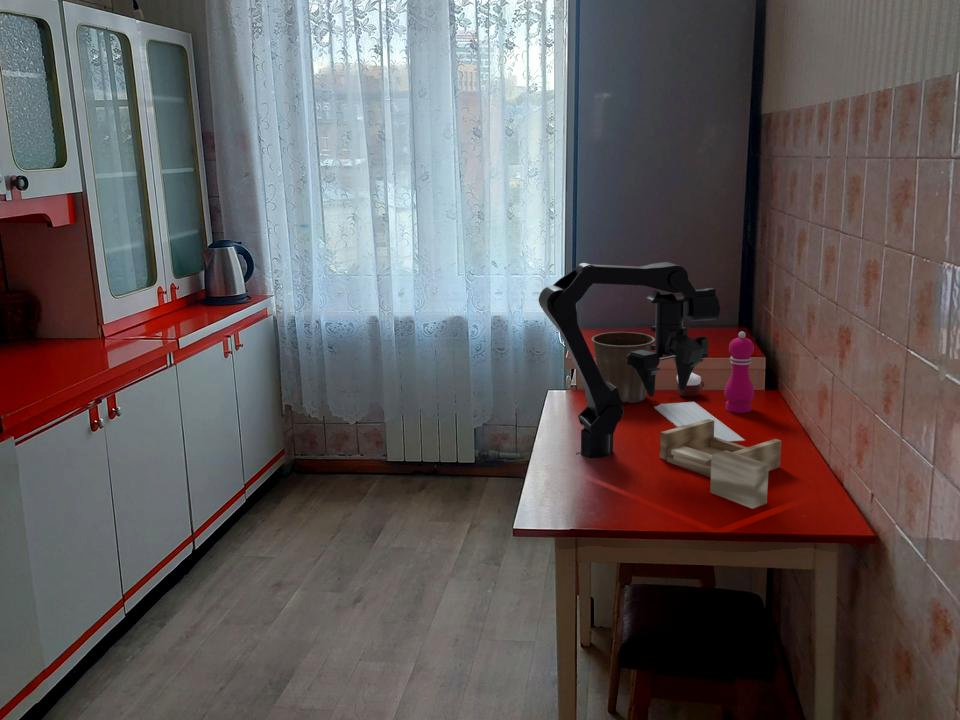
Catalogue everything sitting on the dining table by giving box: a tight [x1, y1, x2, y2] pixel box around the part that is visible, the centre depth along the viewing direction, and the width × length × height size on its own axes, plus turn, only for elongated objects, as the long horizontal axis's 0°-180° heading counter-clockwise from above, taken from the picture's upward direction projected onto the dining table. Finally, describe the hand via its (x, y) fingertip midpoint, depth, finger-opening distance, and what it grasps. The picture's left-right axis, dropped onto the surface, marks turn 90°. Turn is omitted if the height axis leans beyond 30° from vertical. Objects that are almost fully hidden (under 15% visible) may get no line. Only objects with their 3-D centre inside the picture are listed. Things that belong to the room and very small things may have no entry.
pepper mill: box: [723, 331, 755, 414], centre depth 228 cm, size 7×7×20 cm
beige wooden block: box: [709, 450, 770, 510], centre depth 172 cm, size 4×10×8 cm, turn 35°
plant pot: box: [591, 331, 655, 404], centre depth 241 cm, size 16×16×16 cm
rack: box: [659, 419, 782, 472], centre depth 191 cm, size 15×19×6 cm
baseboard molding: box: [649, 397, 746, 443], centre depth 219 cm, size 31×3×12 cm
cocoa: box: [673, 358, 705, 398], centre depth 243 cm, size 10×6×12 cm, turn 86°
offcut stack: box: [666, 446, 712, 478], centre depth 188 cm, size 4×14×3 cm, turn 35°
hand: (666, 393), depth 199 cm, fingers open, 9 cm apart
